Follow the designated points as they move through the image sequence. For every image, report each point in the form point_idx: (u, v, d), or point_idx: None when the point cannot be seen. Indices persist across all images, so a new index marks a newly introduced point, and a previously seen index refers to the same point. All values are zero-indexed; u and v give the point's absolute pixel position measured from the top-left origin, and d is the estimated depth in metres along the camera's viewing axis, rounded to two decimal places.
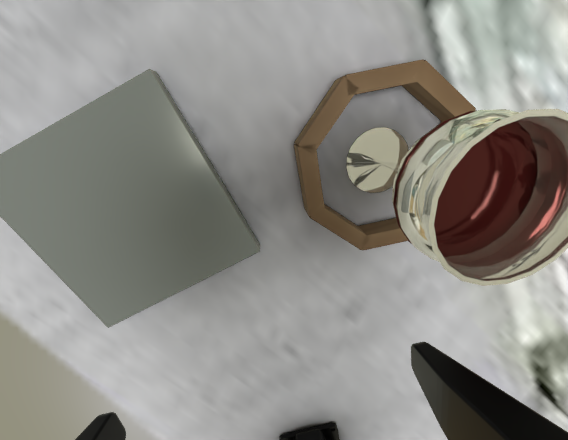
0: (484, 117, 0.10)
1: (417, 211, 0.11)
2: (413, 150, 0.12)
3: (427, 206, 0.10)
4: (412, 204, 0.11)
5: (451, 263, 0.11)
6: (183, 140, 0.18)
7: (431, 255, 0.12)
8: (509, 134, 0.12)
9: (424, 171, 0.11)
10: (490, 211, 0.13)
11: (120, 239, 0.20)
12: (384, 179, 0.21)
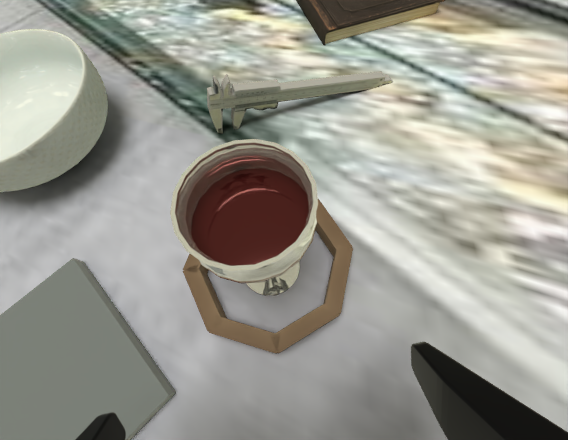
0: (217, 168, 0.15)
1: None
2: (195, 209, 0.15)
3: (186, 227, 0.13)
4: None
5: (229, 265, 0.12)
6: (93, 299, 0.22)
7: (224, 272, 0.12)
8: (263, 176, 0.16)
9: None
10: (283, 228, 0.14)
11: (19, 427, 0.19)
12: (280, 277, 0.22)
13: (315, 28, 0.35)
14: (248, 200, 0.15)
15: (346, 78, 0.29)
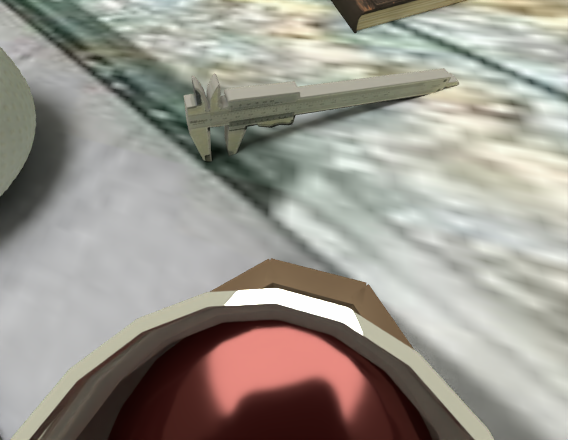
0: None
1: None
2: None
3: None
4: None
5: None
6: None
7: None
8: (290, 336, 0.06)
9: None
10: None
11: None
12: None
13: (342, 10, 0.25)
14: (252, 418, 0.06)
15: (396, 79, 0.19)
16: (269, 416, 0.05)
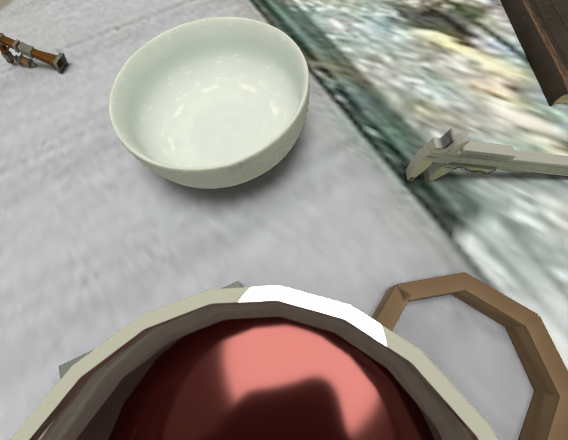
0: None
1: None
2: (109, 437, 0.06)
3: None
4: None
5: None
6: None
7: None
8: (292, 334, 0.06)
9: None
10: None
11: None
12: None
13: (543, 82, 0.29)
14: (254, 415, 0.06)
15: None
16: (271, 413, 0.06)
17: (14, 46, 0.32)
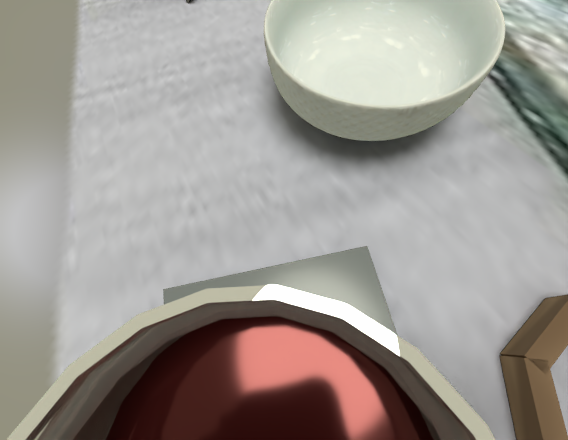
0: None
1: None
2: (107, 437, 0.06)
3: None
4: None
5: None
6: (381, 313, 0.17)
7: None
8: (290, 333, 0.06)
9: None
10: None
11: None
12: None
13: None
14: (252, 414, 0.06)
15: None
16: (269, 413, 0.06)
17: None
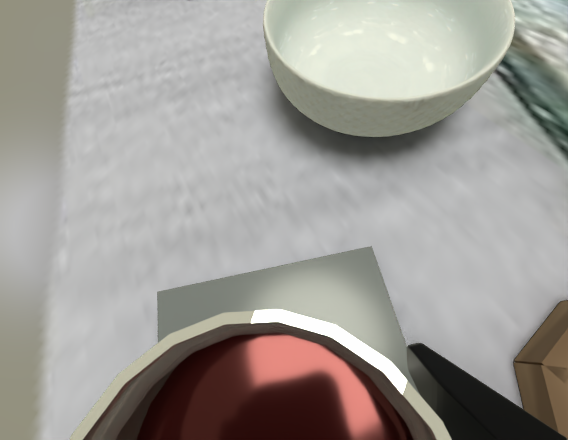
0: None
1: None
2: (139, 432, 0.07)
3: None
4: None
5: None
6: (387, 317, 0.16)
7: None
8: (292, 344, 0.07)
9: None
10: None
11: None
12: None
13: None
14: (260, 413, 0.07)
15: None
16: (274, 412, 0.07)
17: None
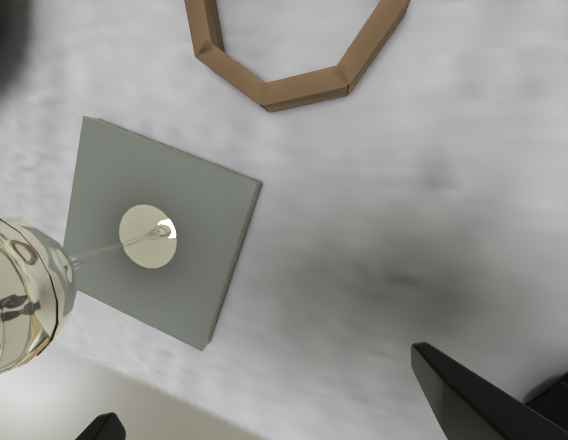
0: None
1: None
2: None
3: None
4: None
5: None
6: (132, 142, 0.20)
7: (10, 365, 0.11)
8: None
9: None
10: None
11: None
12: (160, 236, 0.20)
13: None
14: None
15: None
16: None
17: None
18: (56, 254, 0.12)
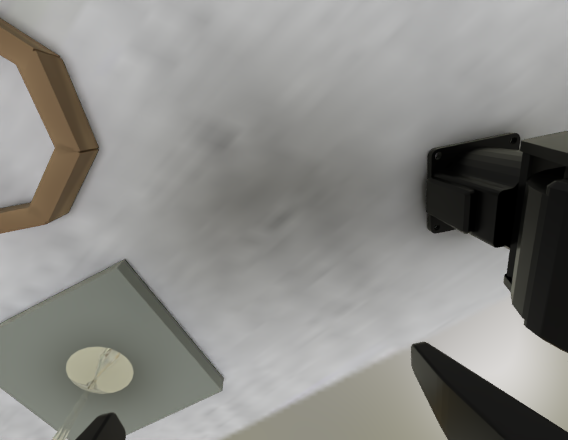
0: None
1: None
2: None
3: None
4: None
5: None
6: (8, 331, 0.20)
7: None
8: None
9: None
10: None
11: None
12: (105, 362, 0.21)
13: None
14: None
15: None
16: None
17: None
18: None
